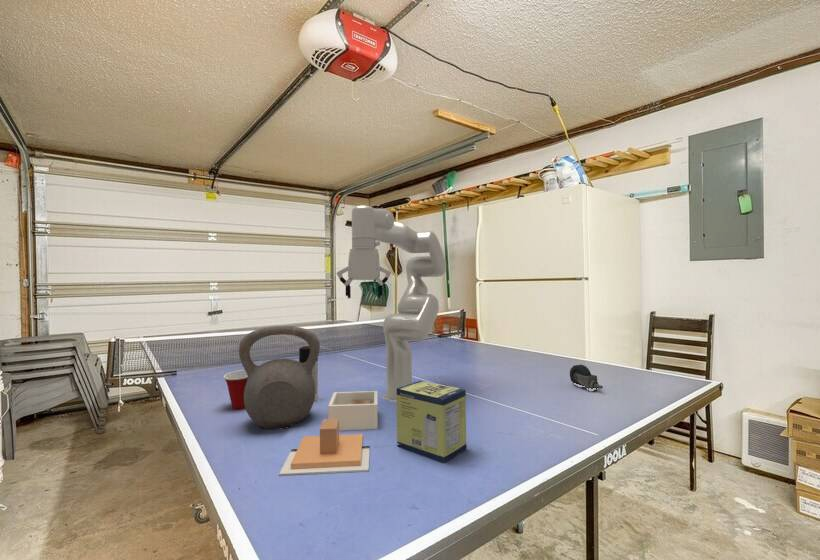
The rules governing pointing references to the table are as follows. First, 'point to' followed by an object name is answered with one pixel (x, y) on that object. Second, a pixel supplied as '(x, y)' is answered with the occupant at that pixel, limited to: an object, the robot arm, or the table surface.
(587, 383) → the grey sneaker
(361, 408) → the bin
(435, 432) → the protein box
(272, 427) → the kettlebell
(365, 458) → the mat
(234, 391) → the plastic cup
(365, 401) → the walnut block
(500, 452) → the table surface
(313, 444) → the lid
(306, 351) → the spray can
